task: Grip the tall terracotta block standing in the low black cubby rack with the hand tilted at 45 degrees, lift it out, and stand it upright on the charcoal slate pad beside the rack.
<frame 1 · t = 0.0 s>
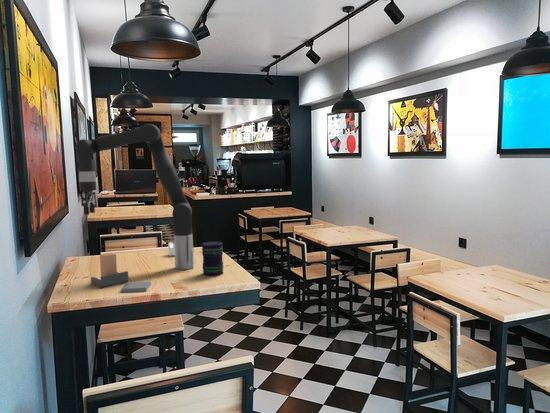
hand: (89, 213, 202), 29 cm above the table, tool pointing down, fingers open, 8 cm apart
slate pad: (136, 288, 174), on the table
bracket: (181, 254, 244), on the table
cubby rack: (109, 282, 184), on the table
storage jar: (213, 274, 197), on the table
terracotta block: (109, 280, 183), point 1 cm above the table, touching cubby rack
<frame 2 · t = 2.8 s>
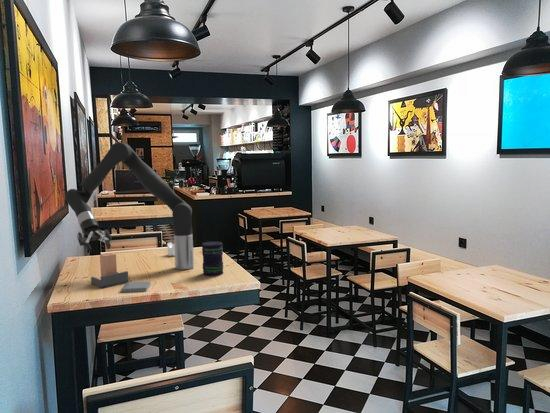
hand: (100, 249, 188), 14 cm above the table, tool tilted 45°, fingers open, 8 cm apart
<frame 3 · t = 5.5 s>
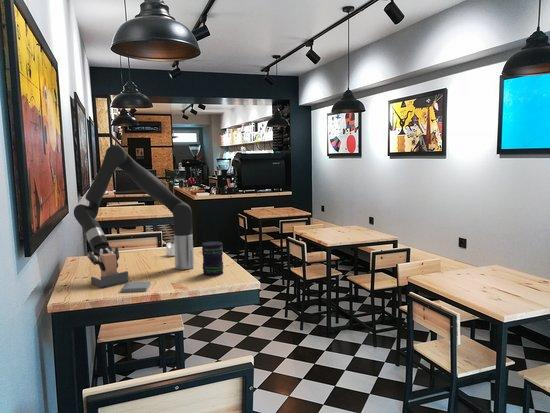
hand: (110, 269, 182), 7 cm above the table, tool tilted 45°, fingers closed on terracotta block, 5 cm apart
terracotta block: (109, 280, 183), point 1 cm above the table, touching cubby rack, gripper
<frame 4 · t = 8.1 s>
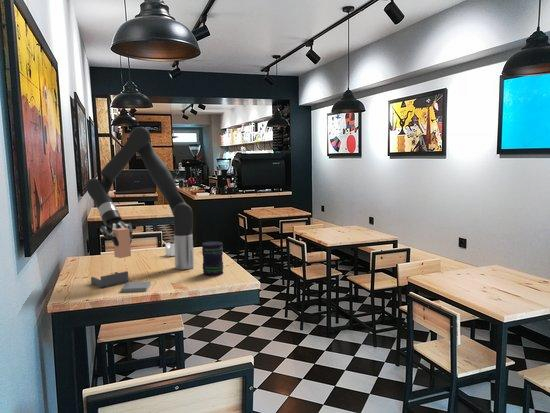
hand: (124, 244, 176), 19 cm above the table, tool tilted 45°, fingers closed on terracotta block, 5 cm apart
terracotta block: (122, 256, 178), point 13 cm above the table, touching gripper
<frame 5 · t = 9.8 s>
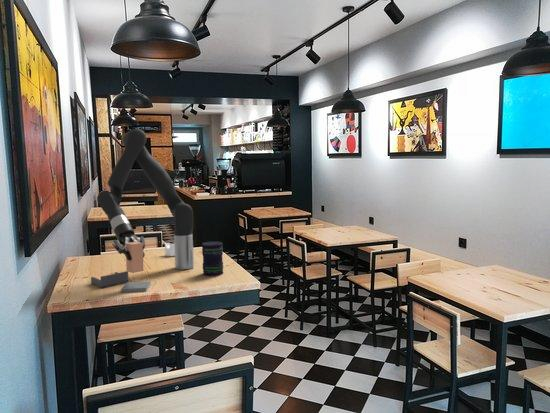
hand: (136, 258, 172), 13 cm above the table, tool tilted 45°, fingers closed on terracotta block, 5 cm apart
terracotta block: (135, 270, 174), point 8 cm above the table, touching gripper
when the fingers open (9 cm above the table, at t = 11.1 s): terracotta block drops 1 cm, resting on slate pad.
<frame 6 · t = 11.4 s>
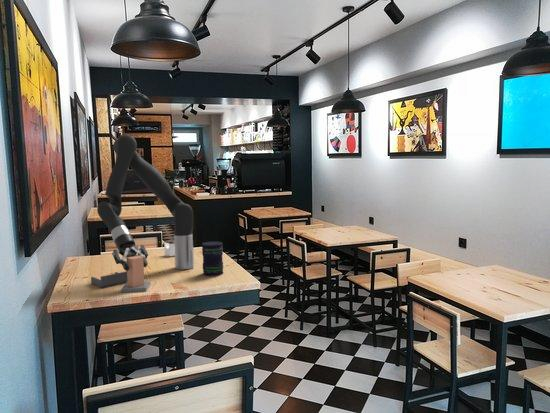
hand: (137, 268, 173), 9 cm above the table, tool tilted 45°, fingers open, 8 cm apart
terracotta block: (136, 284, 174), point 1 cm above the table, touching slate pad
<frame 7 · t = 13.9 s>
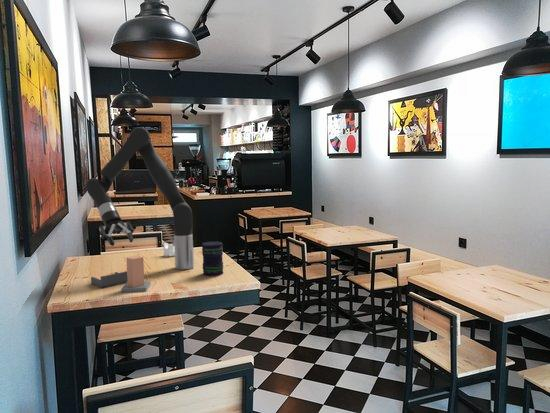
hand: (122, 243, 182), 18 cm above the table, tool tilted 40°, fingers open, 8 cm apart
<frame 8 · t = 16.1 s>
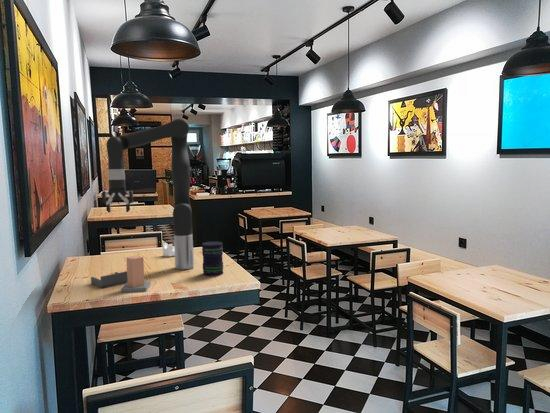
hand: (118, 212, 199), 30 cm above the table, tool pointing down, fingers open, 8 cm apart
at the end: terracotta block 0.1 cm from the slate pad (horizontally); terracotta block tilted 0°; the gripper is holding nothing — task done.
